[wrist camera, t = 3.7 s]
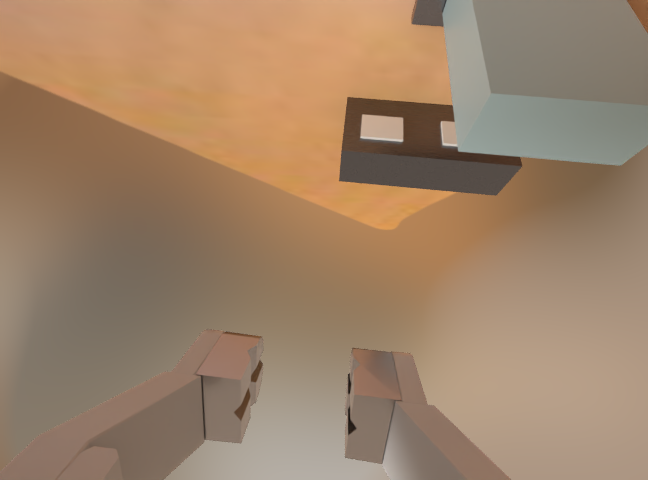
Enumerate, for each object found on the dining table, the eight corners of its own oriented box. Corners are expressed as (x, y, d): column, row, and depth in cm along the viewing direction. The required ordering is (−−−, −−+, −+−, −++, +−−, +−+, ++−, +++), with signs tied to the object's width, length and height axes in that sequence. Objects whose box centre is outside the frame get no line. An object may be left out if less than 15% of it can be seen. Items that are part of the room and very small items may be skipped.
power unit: (347, 95, 34) (341, 148, 31) (510, 107, 33) (524, 164, 30) (344, 131, 39) (339, 180, 35) (487, 143, 38) (496, 195, 34)
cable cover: (462, -49, 21) (491, 93, 15) (600, -41, 21) (695, 109, 14) (442, 14, 25) (458, 151, 18) (560, 22, 25) (620, 165, 18)
